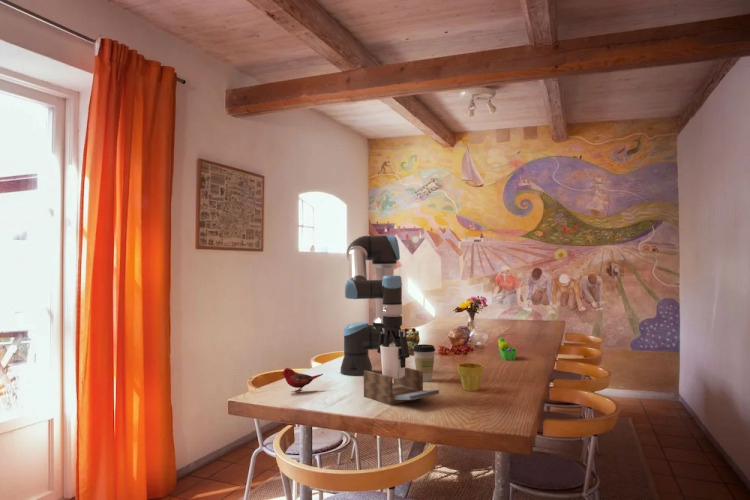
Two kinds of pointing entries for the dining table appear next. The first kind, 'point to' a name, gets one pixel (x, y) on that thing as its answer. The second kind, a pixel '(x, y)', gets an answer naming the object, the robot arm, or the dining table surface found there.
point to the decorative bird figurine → (297, 379)
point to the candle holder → (390, 361)
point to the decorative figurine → (412, 339)
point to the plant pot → (470, 375)
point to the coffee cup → (424, 360)
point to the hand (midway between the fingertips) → (393, 373)
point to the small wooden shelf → (391, 385)
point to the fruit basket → (506, 350)
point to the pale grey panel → (416, 395)
